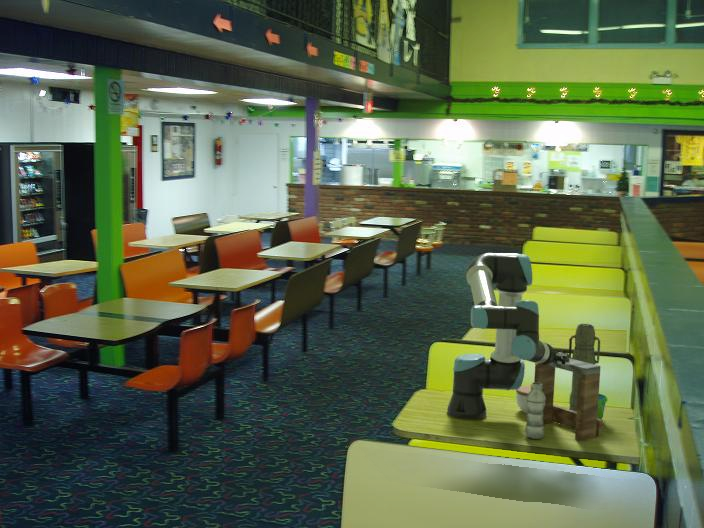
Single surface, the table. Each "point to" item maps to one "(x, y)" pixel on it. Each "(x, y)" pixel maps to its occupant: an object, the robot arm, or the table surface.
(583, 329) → the thermos
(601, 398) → the snack cup
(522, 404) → the lidded bowl
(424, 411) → the table surface
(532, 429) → the plastic bottle
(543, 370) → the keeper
